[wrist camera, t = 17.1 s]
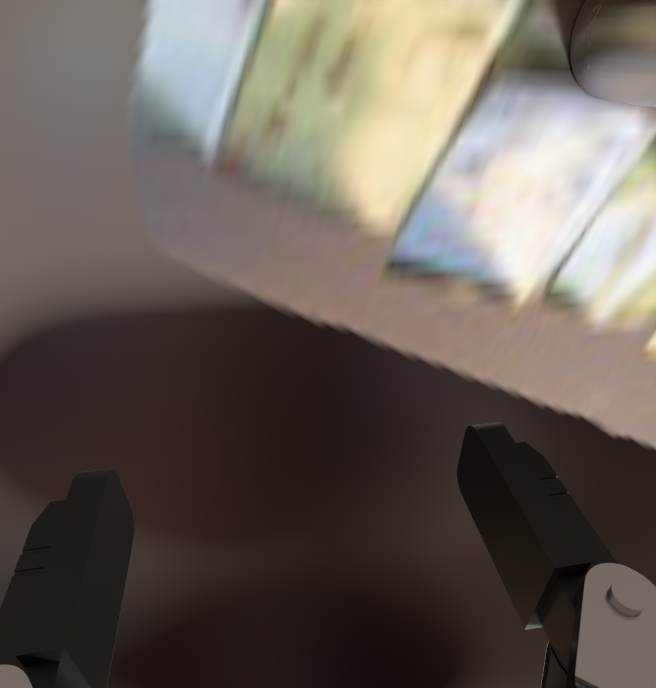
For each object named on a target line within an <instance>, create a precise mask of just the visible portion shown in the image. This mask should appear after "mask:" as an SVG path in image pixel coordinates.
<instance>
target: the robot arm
mask: <svg viewBox="0 0 656 688" xmlns="http://www.w3.org/2000/svg"><path fill="white" fill-rule="evenodd" d="M570 56H571V66H572V70H573V74H574V77H575V79H576V80H577V82H578V84H579V86H580V87H581V88H582V89H583V90H584V91H585V92H586V93H587V94H589V95H591V96H593V97H594V98H598V99H603V100H609V101H616V102H623V103H630V104H635V105H642V106H649V107H656V0H586V1H585V2H584V4H583V6H582V8H581V10H580V13H579V15H578V17H577V19H576V23H575V26H574V30H573V33H572V39H571V47H570ZM457 480H458V485H459V488H460V492H461V494H462V496H463V499H464V501H465V503H466V505H467V507H468V509H469V512H470V514H471V516H472V518H473V520H474V522H475V524H476V527H477V529H478V531H479V533H480V535H481V537H482V540H483V542H484V544H485V546H486V548H487V550H488V552H489V554H490V557H491V559H492V561H493V563H494V565H495V567H496V569H497V572H498V574H499V576H500V578H501V580H502V582H503V584H504V587H505V589H506V591H507V593H508V595H509V597H510V600H511V602H512V604H513V606H514V608H515V610H516V613H517V615H518V617H519V619H520V621H521V623H522V625H523V627H524V630H527V629H533V628H539V627H543V629H544V631H545V633H546V635H547V637H548V638H549V642H548V645H547V650H546V656H545V663H544V670H543V676H542V683H541V688H656V587H655V586H654V585H653V584H652V583H651V582H650V581H649V580H648V579H646V578H645V577H644V576H643V575H641V574H640V573H638V572H636V571H635V570H633V569H631V568H628V567H626V566H623V565H620V564H619V563H618V562H617V561H616V560H615V559H614V557H613V556H612V555H611V553H610V552H609V550H608V549H607V548H606V546H605V545H604V543H603V542H602V540H601V539H600V537H599V536H598V534H597V533H596V531H595V530H594V529H593V527H592V526H591V524H590V523H589V521H588V520H587V518H586V517H585V515H584V514H583V513H582V511H581V510H580V508H579V507H578V505H577V504H576V502H575V501H574V499H573V498H572V496H569V494H568V491H567V489H566V488H565V486H564V485H563V483H562V482H561V480H558V476H557V474H556V473H555V472H554V470H553V469H552V467H551V466H550V464H549V463H548V461H547V460H546V458H545V457H544V456H542V455H541V454H540V453H539V452H537V451H536V450H535V449H534V448H532V447H531V446H530V445H529V444H527V443H526V442H519V443H515V442H514V440H513V438H512V437H511V435H510V434H509V432H508V431H507V429H506V428H505V426H504V425H503V424H501V423H499V422H497V423H489V424H480V425H473V426H468V427H467V428H466V431H465V435H464V439H463V444H462V449H461V453H460V457H459V462H458V467H457ZM133 539H134V517H133V511H132V508H131V506H130V503H129V500H128V498H127V495H126V493H125V490H124V487H123V485H122V482H121V480H120V477H119V474H118V472H117V470H115V469H106V470H97V471H89V472H81V473H77V474H76V475H75V476H74V478H73V481H72V484H71V486H70V490H69V493H68V496H67V499H66V500H62V501H54V502H50V503H49V505H48V506H47V507H46V508H45V510H44V511H43V512H42V513H41V514H40V516H39V517H38V518H37V519H36V521H35V522H34V523H33V524H32V526H31V529H30V532H29V534H28V537H27V539H26V542H25V545H24V548H23V554H22V555H21V556H20V558H19V561H18V563H17V566H16V568H15V576H13V577H12V579H11V582H10V584H9V587H8V590H7V592H6V595H5V598H4V600H3V603H2V606H1V608H0V688H107V684H108V678H109V672H110V668H111V662H112V656H113V651H114V645H115V639H116V634H117V629H118V623H119V617H120V612H121V606H122V601H123V595H124V589H125V584H126V578H127V572H128V567H129V562H130V556H131V550H132V545H133Z"/></svg>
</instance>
